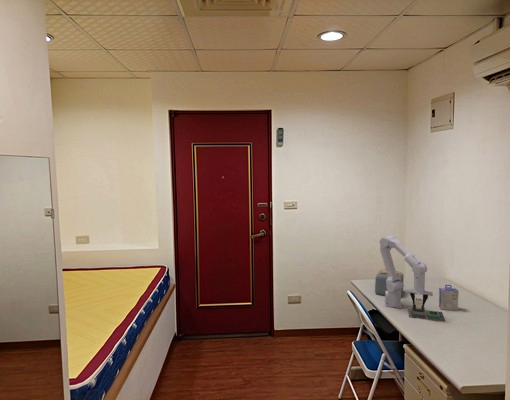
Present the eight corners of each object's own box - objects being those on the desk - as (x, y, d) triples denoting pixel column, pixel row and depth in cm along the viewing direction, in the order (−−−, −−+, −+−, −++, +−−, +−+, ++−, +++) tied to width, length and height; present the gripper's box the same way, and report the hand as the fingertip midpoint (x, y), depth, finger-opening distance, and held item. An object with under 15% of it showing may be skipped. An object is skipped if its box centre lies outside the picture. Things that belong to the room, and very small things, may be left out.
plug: (416, 310, 211) (416, 300, 210) (415, 307, 215) (415, 298, 214) (421, 311, 210) (421, 301, 209) (420, 308, 214) (421, 298, 213)
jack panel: (408, 317, 208) (409, 310, 208) (407, 308, 221) (407, 302, 220) (445, 321, 202) (445, 314, 201) (442, 312, 214) (442, 306, 214)
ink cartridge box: (455, 307, 222) (456, 284, 221) (458, 310, 217) (459, 287, 215) (438, 306, 224) (439, 283, 223) (440, 309, 219) (441, 286, 217)
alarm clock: (403, 291, 250) (404, 269, 249) (399, 299, 237) (399, 275, 235) (379, 287, 259) (380, 266, 258) (374, 294, 245) (374, 272, 244)
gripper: (406, 284, 209) (405, 307, 211) (433, 287, 205) (432, 310, 206) (405, 281, 216) (405, 302, 217) (432, 283, 211) (431, 305, 212)
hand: (418, 306), depth 212 cm, fingers open, 4 cm apart
